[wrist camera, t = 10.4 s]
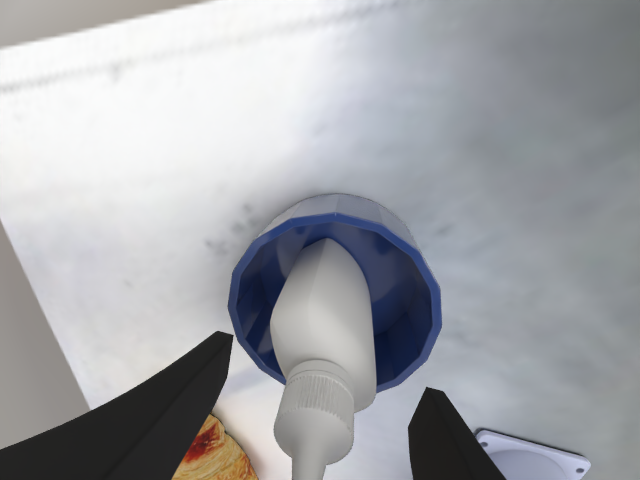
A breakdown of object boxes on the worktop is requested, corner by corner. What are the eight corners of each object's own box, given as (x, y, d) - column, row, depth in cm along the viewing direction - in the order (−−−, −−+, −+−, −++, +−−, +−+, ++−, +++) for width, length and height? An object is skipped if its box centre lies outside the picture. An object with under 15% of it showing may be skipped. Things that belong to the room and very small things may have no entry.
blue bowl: (391, 358, 21) (401, 419, 17) (247, 320, 22) (218, 370, 17) (446, 218, 18) (477, 247, 13) (272, 174, 18) (243, 188, 13)
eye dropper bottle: (303, 315, 20) (234, 545, 9) (299, 234, 18) (208, 397, 7) (369, 318, 20) (386, 567, 8) (373, 236, 18) (400, 413, 7)
